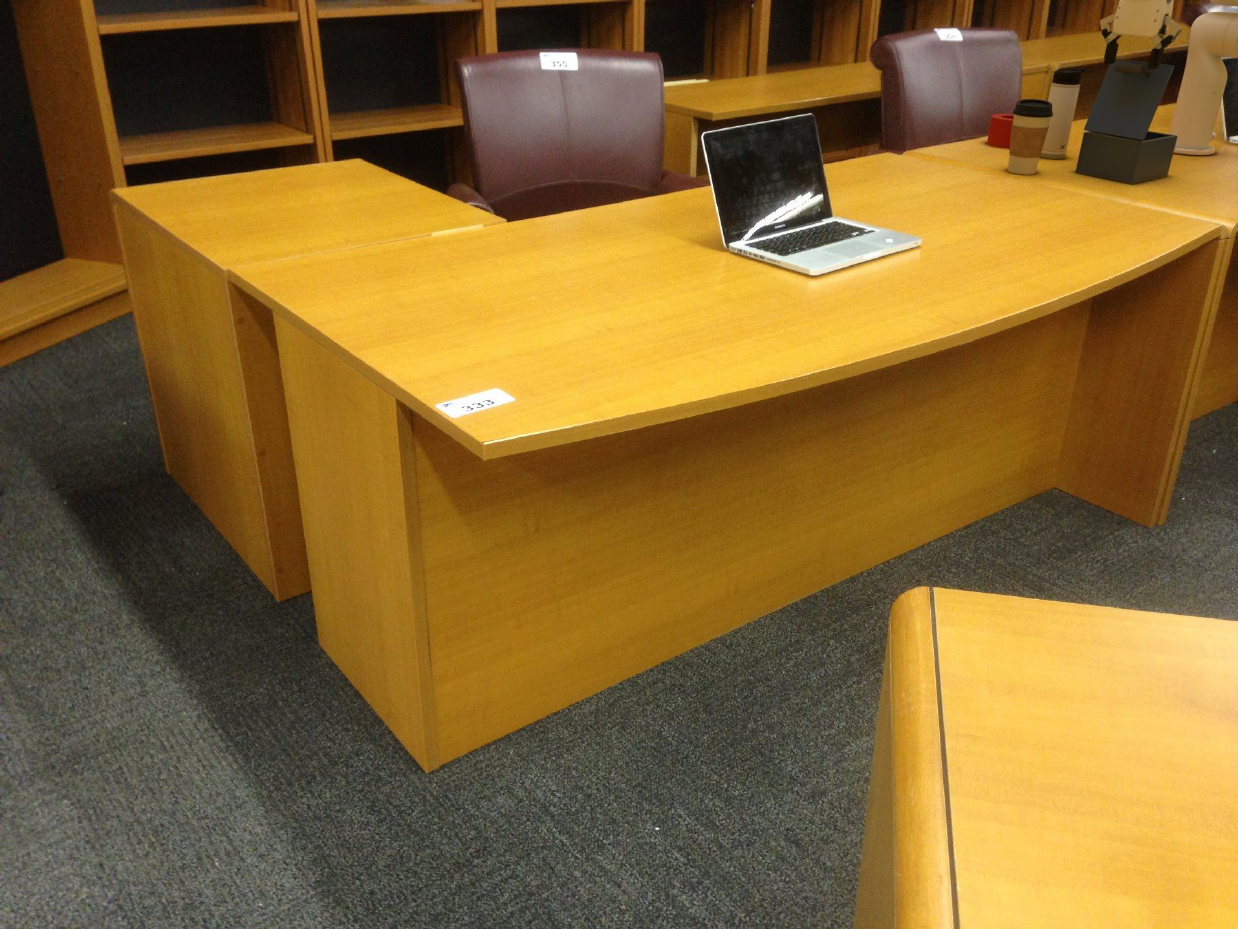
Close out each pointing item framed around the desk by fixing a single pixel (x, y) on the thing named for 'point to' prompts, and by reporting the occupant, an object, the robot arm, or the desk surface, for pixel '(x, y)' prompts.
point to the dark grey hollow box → (1126, 157)
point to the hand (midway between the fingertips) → (1130, 66)
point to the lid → (1128, 99)
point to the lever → (1000, 130)
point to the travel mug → (1061, 111)
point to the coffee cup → (1028, 135)
